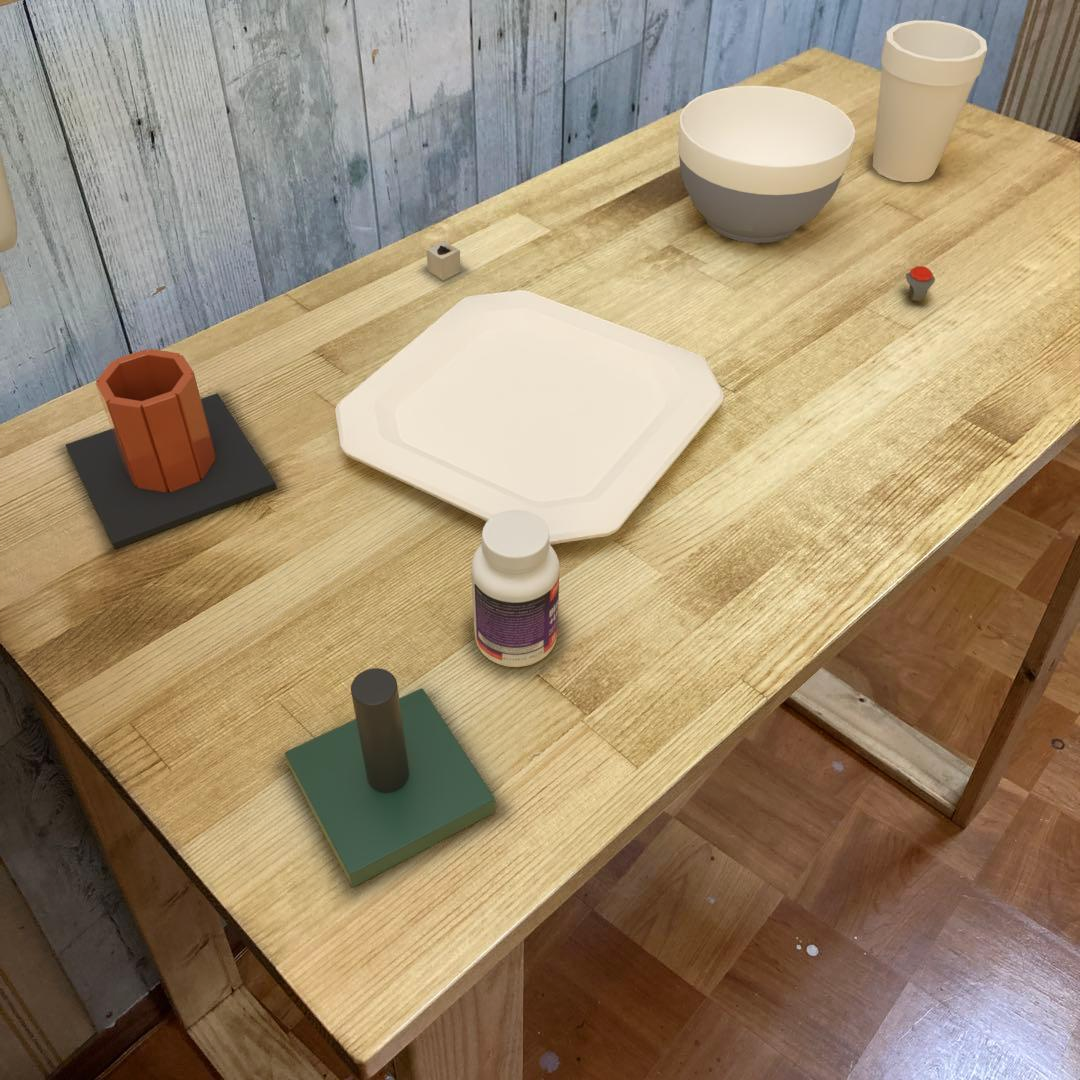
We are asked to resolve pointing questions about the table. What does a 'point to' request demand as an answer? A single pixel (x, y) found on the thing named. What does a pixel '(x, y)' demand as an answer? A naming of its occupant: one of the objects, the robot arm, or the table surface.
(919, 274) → the ring
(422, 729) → the post stand
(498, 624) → the pill bottle
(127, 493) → the mat
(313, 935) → the table surface
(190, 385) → the orange hollow octagonal tube
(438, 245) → the cube with dark pebbles
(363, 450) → the plate
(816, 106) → the bowl
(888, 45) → the foam cup
